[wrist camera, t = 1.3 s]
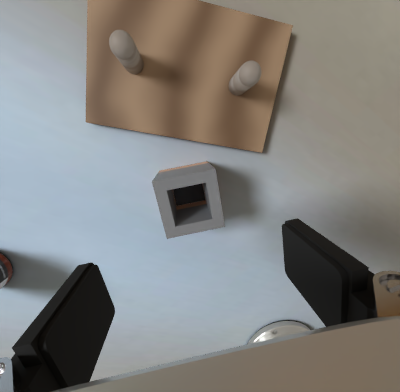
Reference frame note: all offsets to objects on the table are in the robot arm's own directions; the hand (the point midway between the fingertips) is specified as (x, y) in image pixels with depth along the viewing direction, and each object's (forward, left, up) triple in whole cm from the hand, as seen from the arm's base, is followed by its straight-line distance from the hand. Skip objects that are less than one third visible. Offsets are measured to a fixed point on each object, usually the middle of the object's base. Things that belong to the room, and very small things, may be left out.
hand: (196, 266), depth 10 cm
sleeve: (0, 0, -16) cm, 16 cm away
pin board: (+2, -12, -16) cm, 21 cm away
